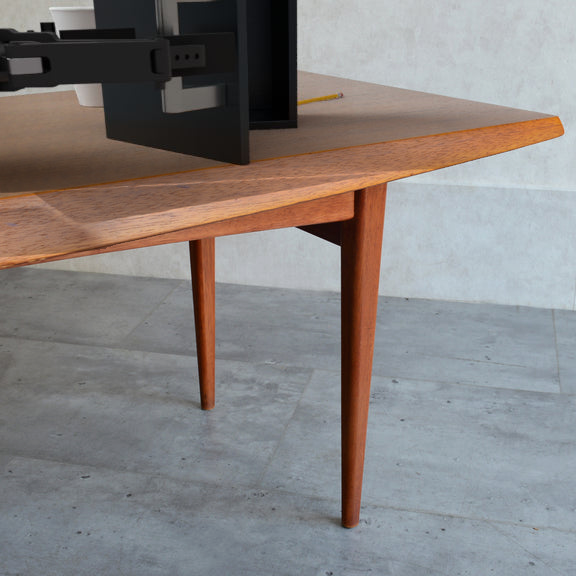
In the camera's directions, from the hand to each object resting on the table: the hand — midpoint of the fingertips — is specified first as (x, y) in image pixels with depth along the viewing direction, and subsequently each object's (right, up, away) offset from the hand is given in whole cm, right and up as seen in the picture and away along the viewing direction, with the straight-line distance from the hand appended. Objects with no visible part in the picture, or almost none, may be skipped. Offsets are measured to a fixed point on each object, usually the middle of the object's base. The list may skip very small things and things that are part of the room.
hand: (179, 47), depth 58 cm
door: (-4, -7, +9) cm, 12 cm away
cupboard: (-1, -1, +25) cm, 25 cm away
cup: (-16, +6, +43) cm, 46 cm away
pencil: (+12, +6, +43) cm, 45 cm away
